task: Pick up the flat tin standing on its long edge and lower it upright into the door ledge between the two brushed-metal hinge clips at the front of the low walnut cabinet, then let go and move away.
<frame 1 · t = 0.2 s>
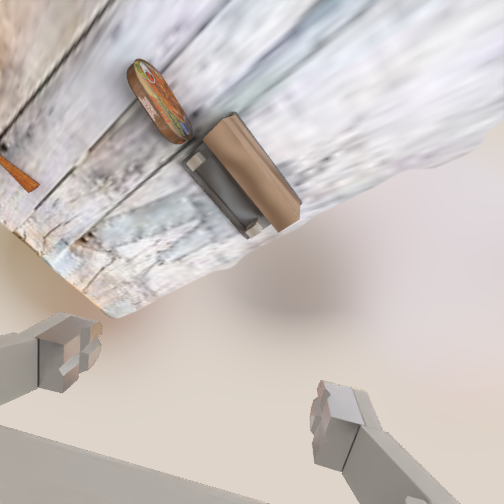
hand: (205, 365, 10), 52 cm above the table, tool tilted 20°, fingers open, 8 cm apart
tin: (171, 103, 54), on the table
cabinet: (244, 180, 59), on the table
kendama: (6, 153, 67), on the table
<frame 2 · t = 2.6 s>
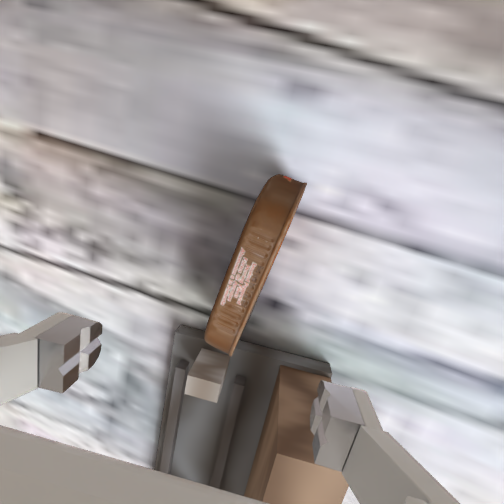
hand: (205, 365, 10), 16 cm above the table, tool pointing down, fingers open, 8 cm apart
tin: (259, 254, 25), on the table
cabinet: (237, 430, 30), on the table
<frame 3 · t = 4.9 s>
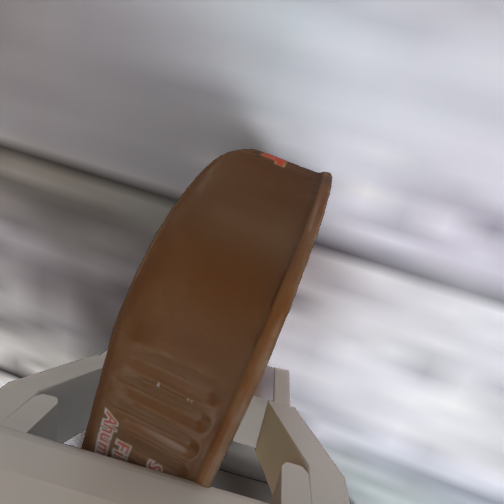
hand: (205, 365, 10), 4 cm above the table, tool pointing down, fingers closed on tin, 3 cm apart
tin: (226, 316, 13), on the table, touching gripper
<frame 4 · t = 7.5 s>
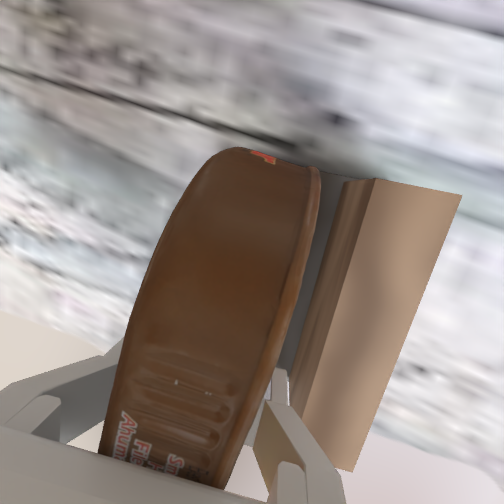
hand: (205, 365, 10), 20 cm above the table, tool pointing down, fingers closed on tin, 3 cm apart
tin: (217, 312, 13), point 16 cm above the table, touching gripper
cabinet: (289, 279, 29), on the table
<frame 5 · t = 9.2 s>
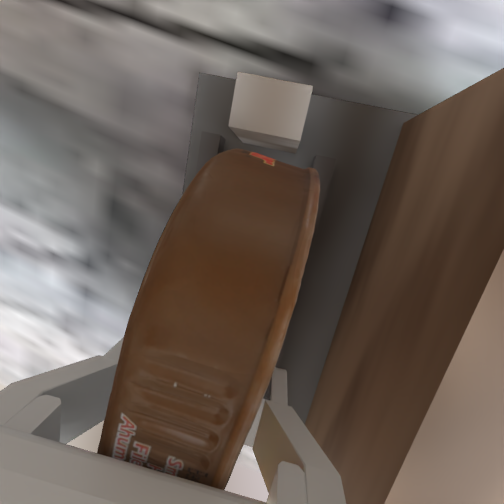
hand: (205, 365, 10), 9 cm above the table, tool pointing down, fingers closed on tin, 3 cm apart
tin: (217, 313, 13), point 5 cm above the table, touching gripper
cabinet: (299, 294, 18), on the table
when the fingers open (6 cm above the table, at t = 10.4 s): tin stays where it is, resting on cabinet.
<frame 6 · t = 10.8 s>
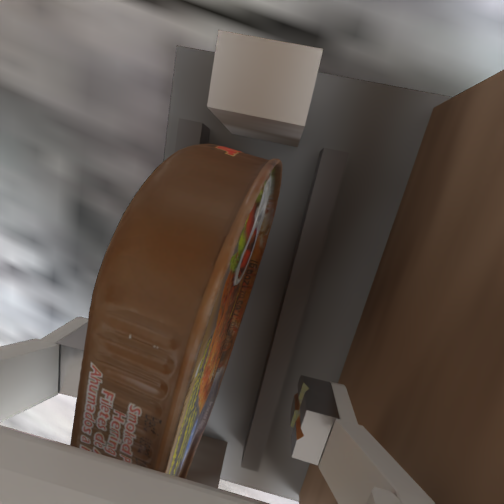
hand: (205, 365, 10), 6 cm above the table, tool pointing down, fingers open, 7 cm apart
tin: (215, 305, 14), point 1 cm above the table, touching cabinet
cabinet: (302, 315, 15), on the table
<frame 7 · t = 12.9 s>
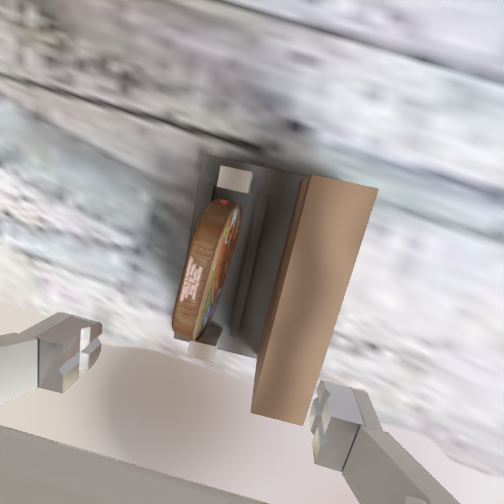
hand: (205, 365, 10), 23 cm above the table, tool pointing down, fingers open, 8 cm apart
tin: (217, 260, 31), point 1 cm above the table, touching cabinet
cabinet: (257, 266, 32), on the table
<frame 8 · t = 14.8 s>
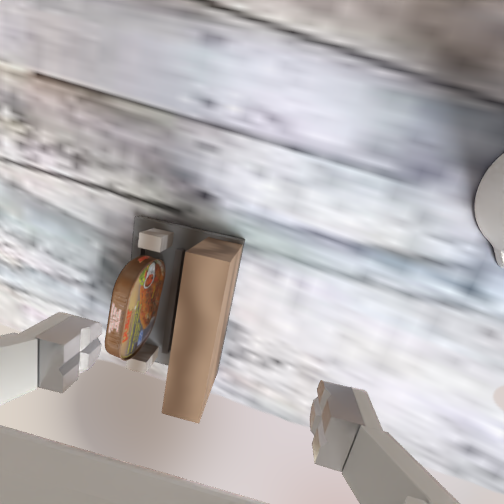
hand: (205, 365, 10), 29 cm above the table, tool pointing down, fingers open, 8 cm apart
tin: (151, 294, 41), point 1 cm above the table, touching cabinet
cabinet: (184, 298, 41), on the table
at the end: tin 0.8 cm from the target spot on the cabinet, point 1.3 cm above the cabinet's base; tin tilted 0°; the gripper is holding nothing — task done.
